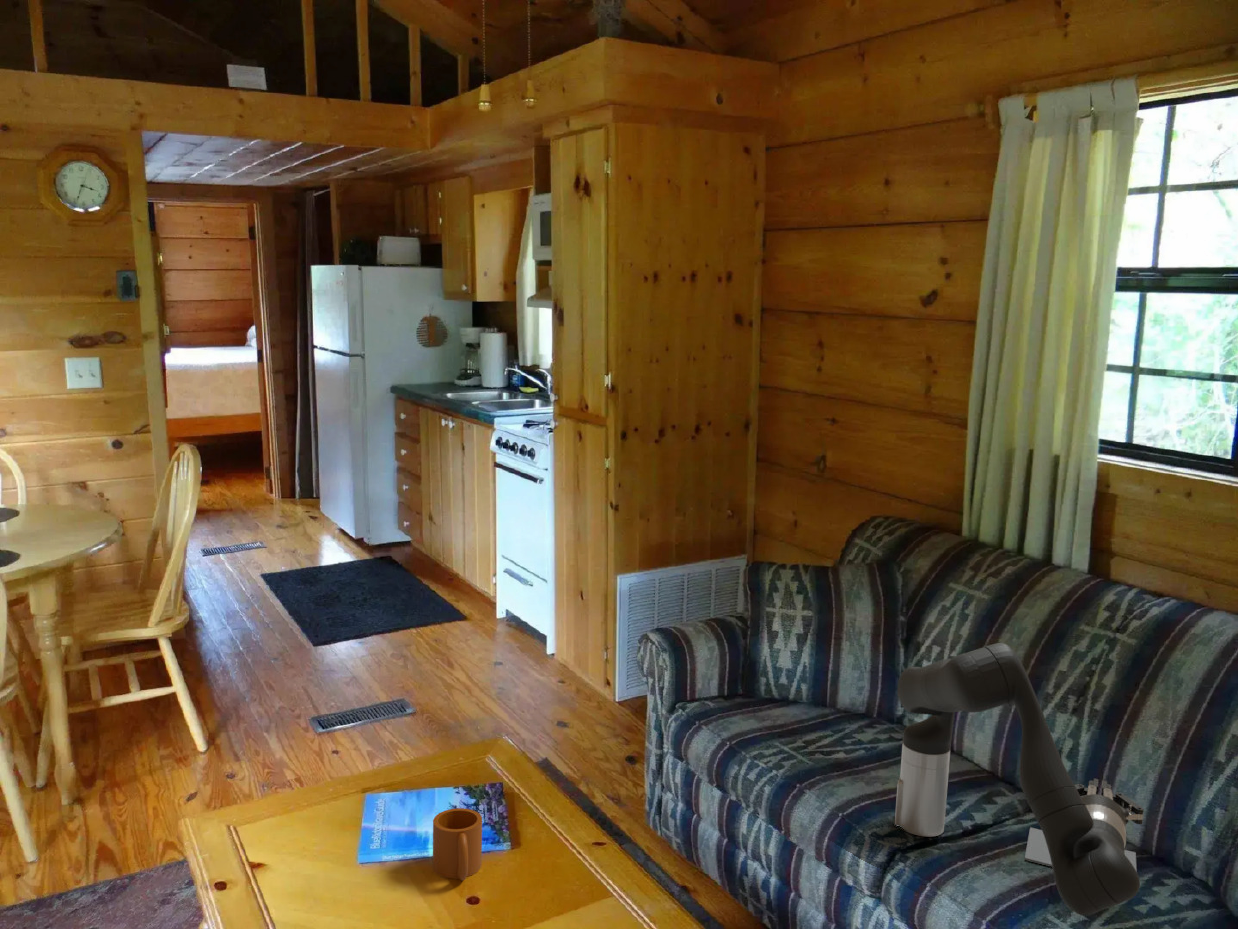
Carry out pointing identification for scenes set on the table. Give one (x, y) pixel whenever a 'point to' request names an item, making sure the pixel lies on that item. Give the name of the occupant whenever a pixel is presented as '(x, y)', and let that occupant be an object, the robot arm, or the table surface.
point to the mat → (1040, 853)
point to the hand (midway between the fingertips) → (1099, 785)
